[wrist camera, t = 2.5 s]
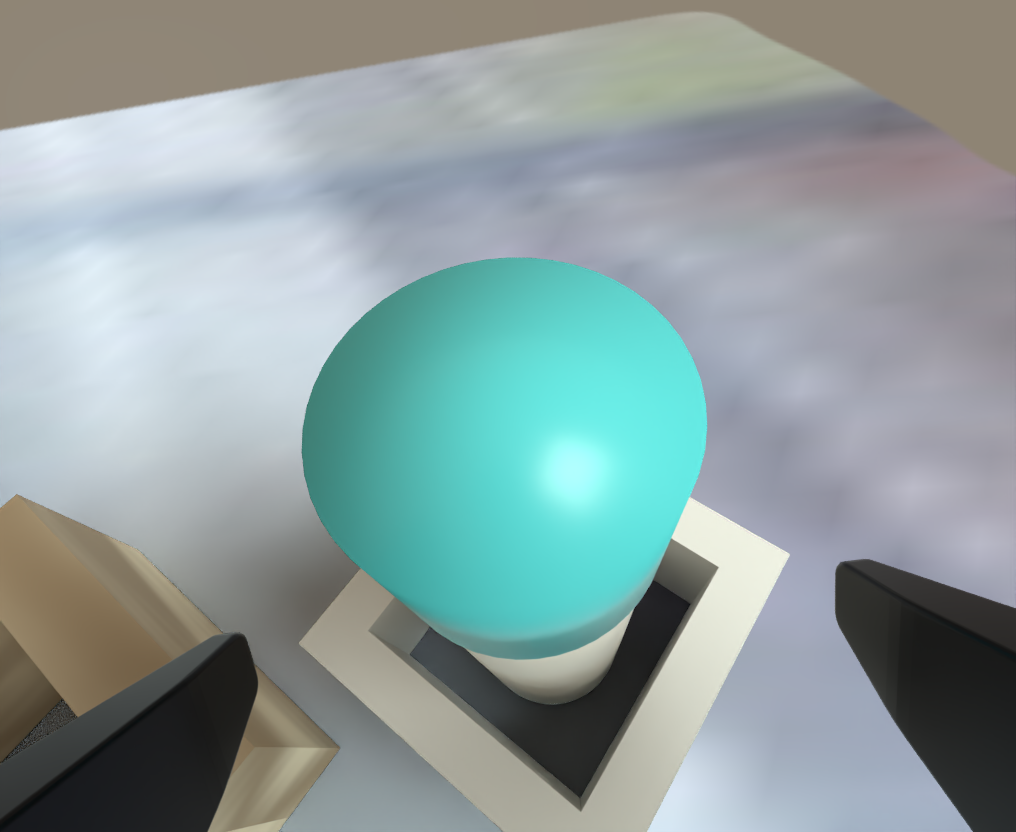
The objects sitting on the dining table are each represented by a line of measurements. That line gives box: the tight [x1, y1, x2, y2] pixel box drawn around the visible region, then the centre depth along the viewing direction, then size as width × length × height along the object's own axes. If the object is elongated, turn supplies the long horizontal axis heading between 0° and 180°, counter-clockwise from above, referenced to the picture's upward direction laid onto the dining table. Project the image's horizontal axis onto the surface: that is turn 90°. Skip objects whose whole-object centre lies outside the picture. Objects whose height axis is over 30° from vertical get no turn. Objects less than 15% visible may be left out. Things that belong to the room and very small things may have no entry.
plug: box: [302, 258, 707, 704], centre depth 12 cm, size 4×4×13 cm
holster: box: [299, 497, 790, 832], centre depth 16 cm, size 8×8×4 cm
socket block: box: [0, 494, 340, 832], centre depth 14 cm, size 10×10×5 cm
